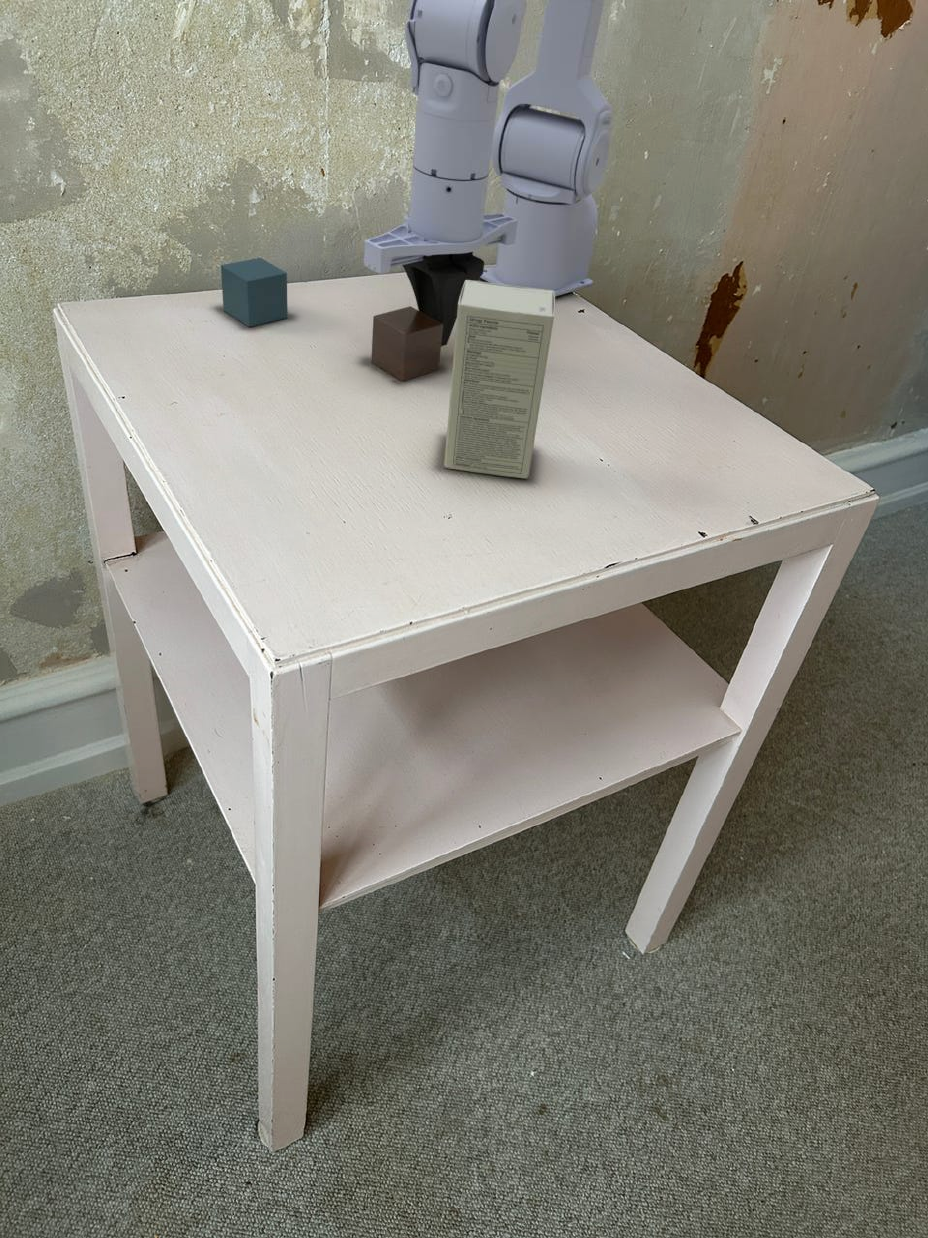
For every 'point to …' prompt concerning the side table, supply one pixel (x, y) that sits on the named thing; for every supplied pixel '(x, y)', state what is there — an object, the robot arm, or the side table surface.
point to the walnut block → (406, 343)
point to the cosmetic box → (497, 377)
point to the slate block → (254, 291)
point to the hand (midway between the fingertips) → (434, 341)
